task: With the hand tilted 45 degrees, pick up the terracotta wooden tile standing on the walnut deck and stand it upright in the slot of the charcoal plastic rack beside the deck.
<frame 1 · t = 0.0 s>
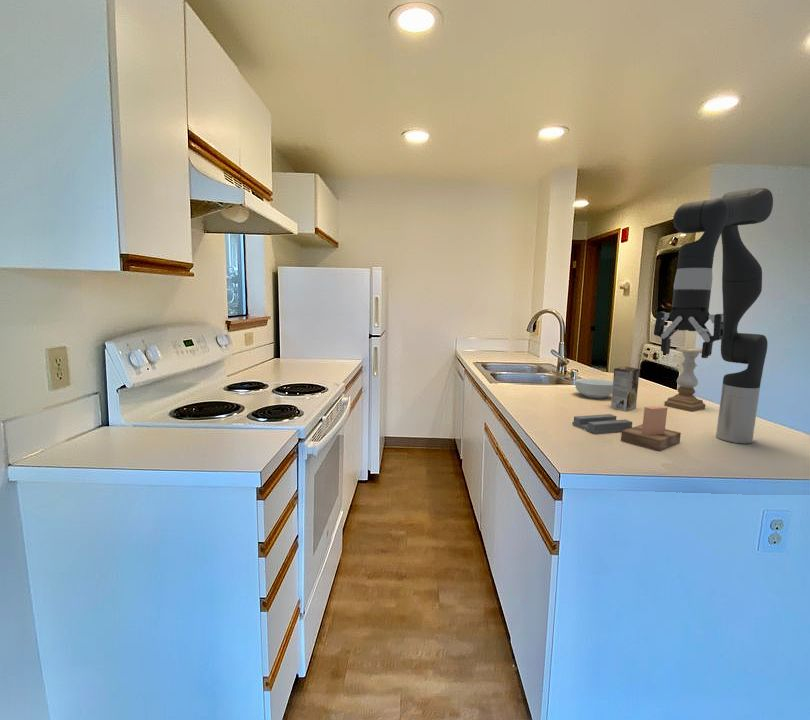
hand: (684, 355, 107), 29 cm above the counter, tool pointing down, fingers open, 8 cm apart
cereal bowl: (594, 397, 196), on the counter
tile: (653, 433, 132), point 3 cm above the counter, touching deck
coffee box: (623, 408, 176), on the counter
rack: (601, 427, 147), on the counter
deck: (650, 441, 134), on the counter
candle holder: (684, 407, 180), on the counter
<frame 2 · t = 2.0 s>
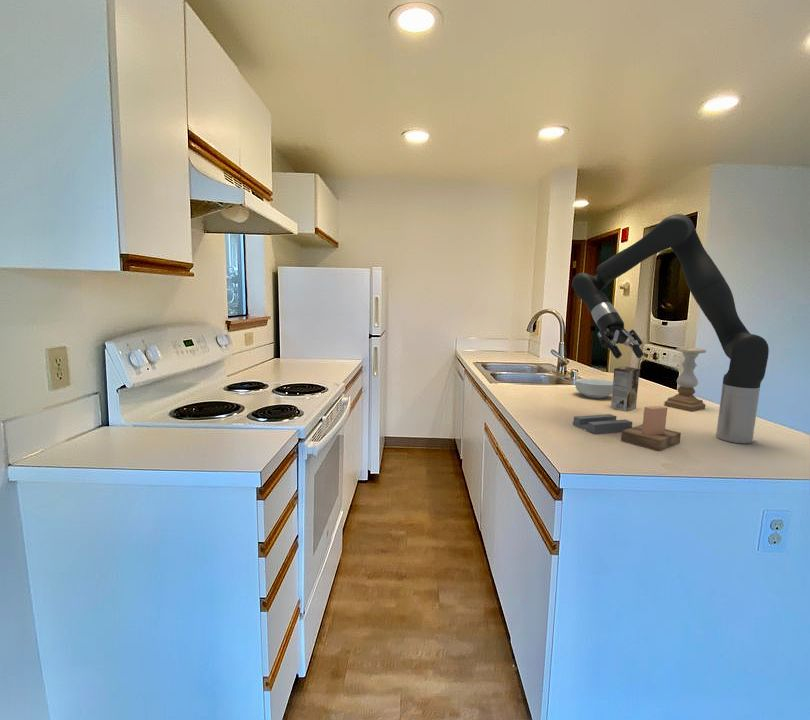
hand: (630, 356, 140), 25 cm above the counter, tool tilted 45°, fingers open, 8 cm apart
nothing on the counter moved.
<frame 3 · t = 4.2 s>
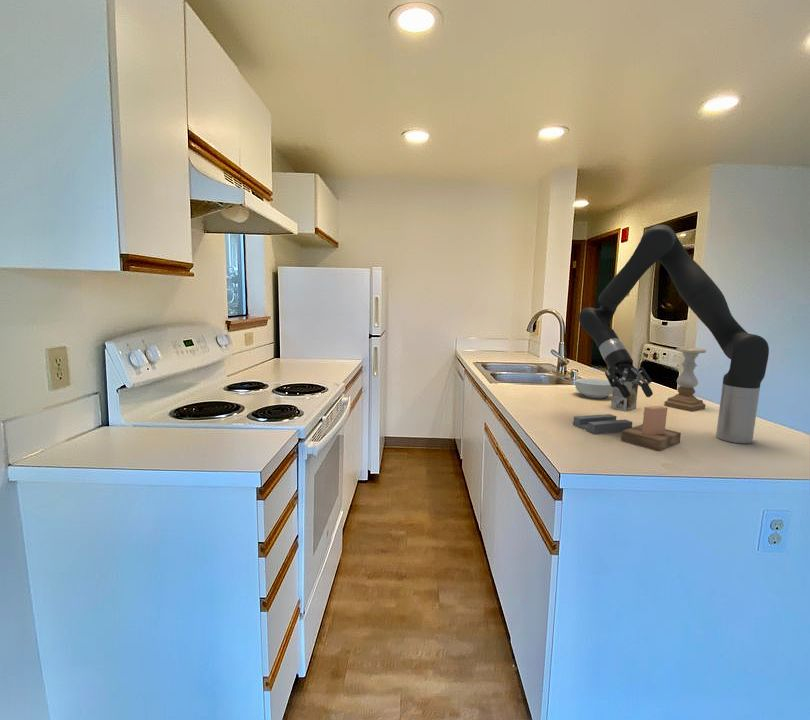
hand: (639, 396, 137), 13 cm above the counter, tool tilted 45°, fingers open, 8 cm apart
nothing on the counter moved.
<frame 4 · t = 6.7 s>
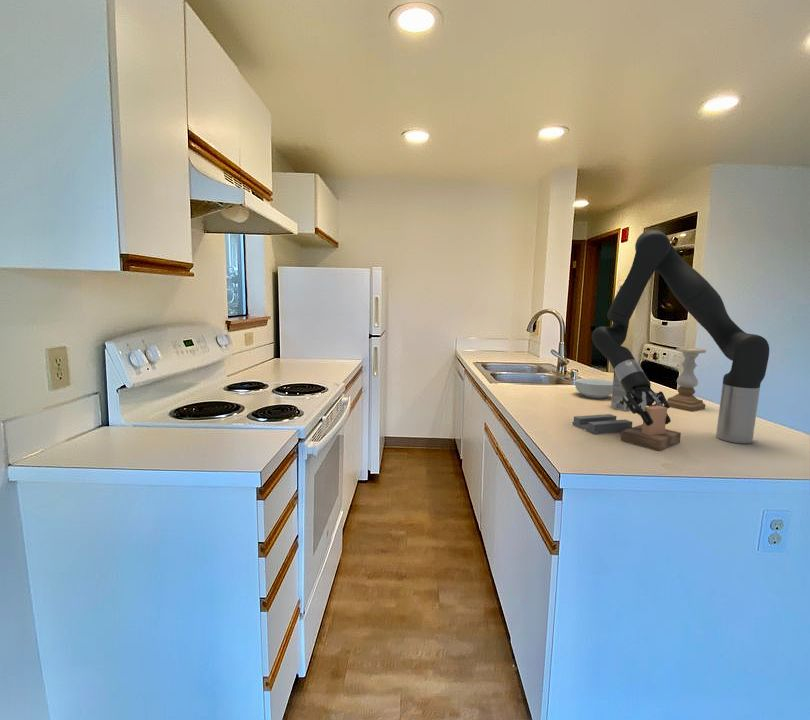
hand: (659, 423, 130), 6 cm above the counter, tool tilted 45°, fingers closed on tile, 6 cm apart
tile: (653, 433, 132), point 3 cm above the counter, touching deck, gripper
everything else where it was.
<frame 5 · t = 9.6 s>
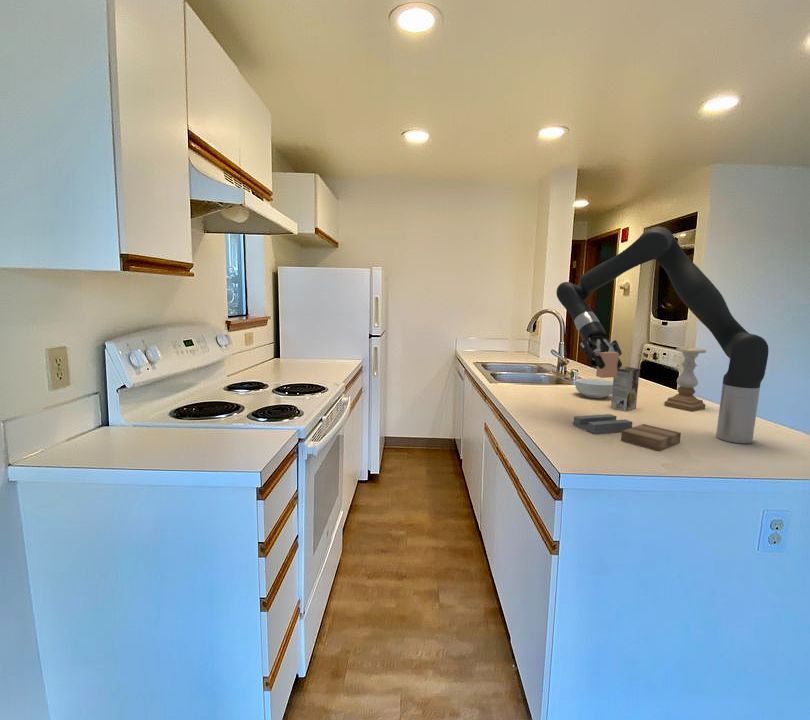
hand: (611, 367, 143), 21 cm above the counter, tool tilted 45°, fingers closed on tile, 6 cm apart
tile: (606, 376, 145), point 17 cm above the counter, touching gripper
everything else where it was.
when the fingers open (6 cm above the counter, at t = 12.9 s): tile drops 2 cm, resting on rack.
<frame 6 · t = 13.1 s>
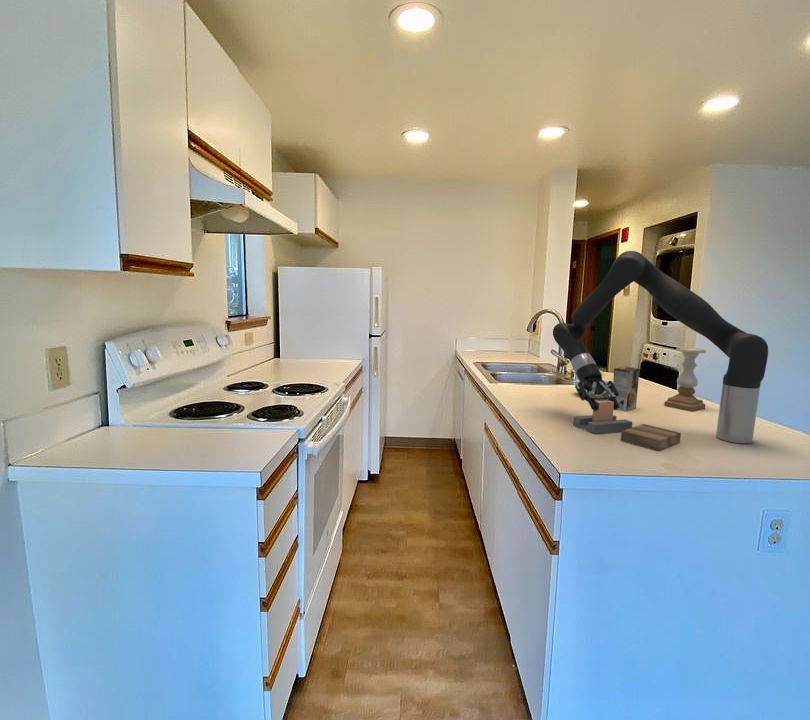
hand: (606, 409, 145), 7 cm above the counter, tool tilted 45°, fingers open, 7 cm apart
tile: (601, 424, 147), point 1 cm above the counter, touching rack
everything else where it was.
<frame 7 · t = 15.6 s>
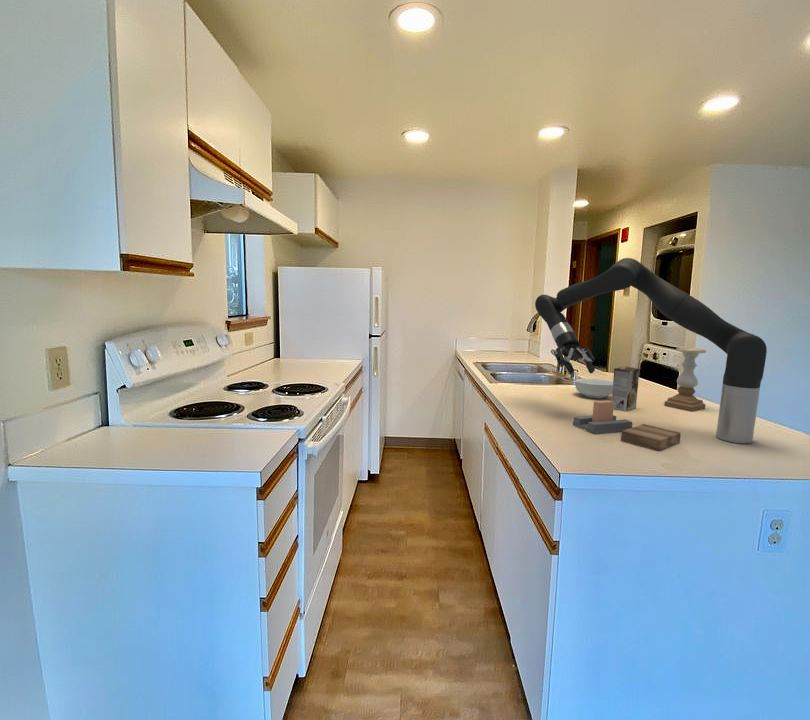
hand: (582, 372, 156), 17 cm above the counter, tool tilted 45°, fingers open, 8 cm apart
nothing on the counter moved.
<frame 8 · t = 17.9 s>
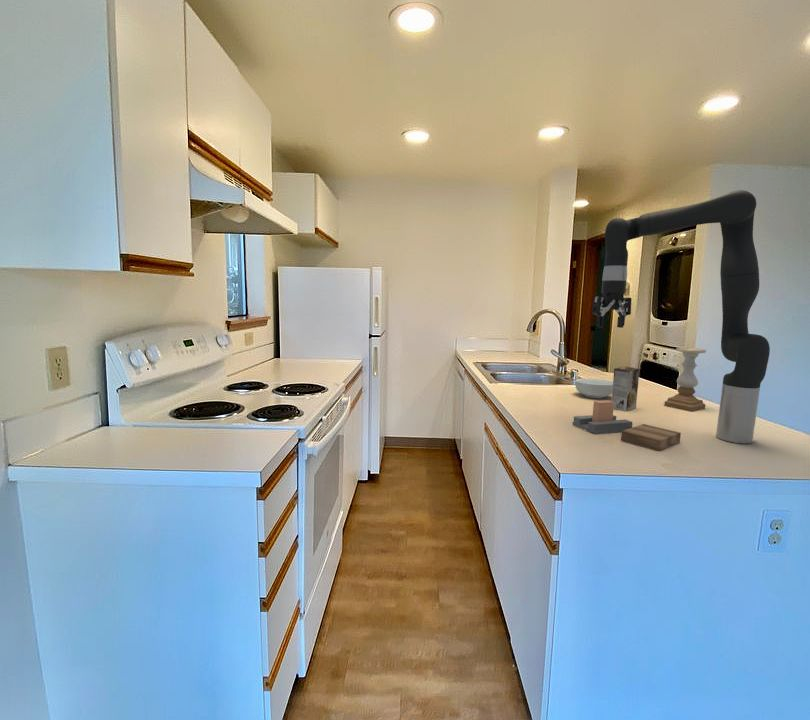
hand: (610, 327, 152), 33 cm above the counter, tool pointing down, fingers open, 8 cm apart
nothing on the counter moved.
at the end: tile inside the target area on the rack (0.1 cm from its centre), point 1.0 cm above the rack's base; tile tilted 0°; the gripper is holding nothing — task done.
